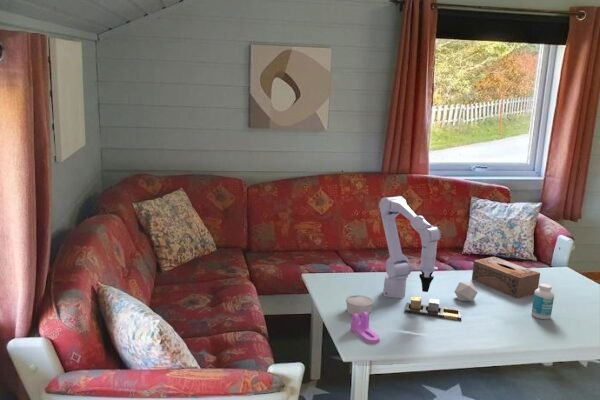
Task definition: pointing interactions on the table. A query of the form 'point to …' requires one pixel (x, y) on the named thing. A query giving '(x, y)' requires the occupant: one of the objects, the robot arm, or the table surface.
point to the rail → (442, 313)
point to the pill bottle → (543, 301)
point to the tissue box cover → (505, 277)
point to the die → (465, 291)
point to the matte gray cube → (433, 305)
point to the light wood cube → (416, 303)
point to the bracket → (363, 328)
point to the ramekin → (359, 304)
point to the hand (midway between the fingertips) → (425, 288)
